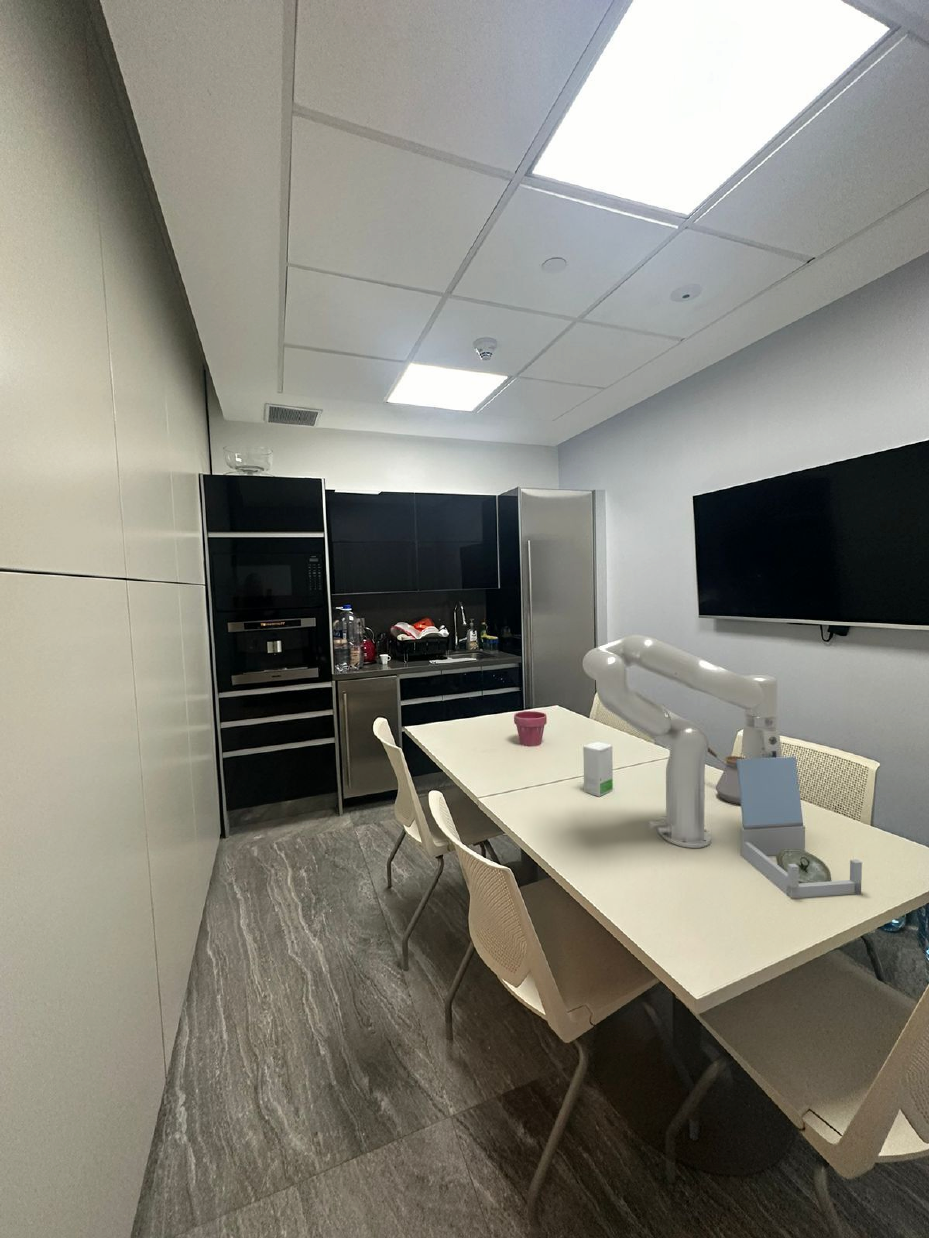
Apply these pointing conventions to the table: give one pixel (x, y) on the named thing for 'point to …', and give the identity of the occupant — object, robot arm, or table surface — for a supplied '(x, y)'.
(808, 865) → the lid
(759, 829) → the low-walled grey tray
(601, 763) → the skincare box
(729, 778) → the coffee pot
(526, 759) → the table surface
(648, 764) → the table surface
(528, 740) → the plant pot
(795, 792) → the cover
